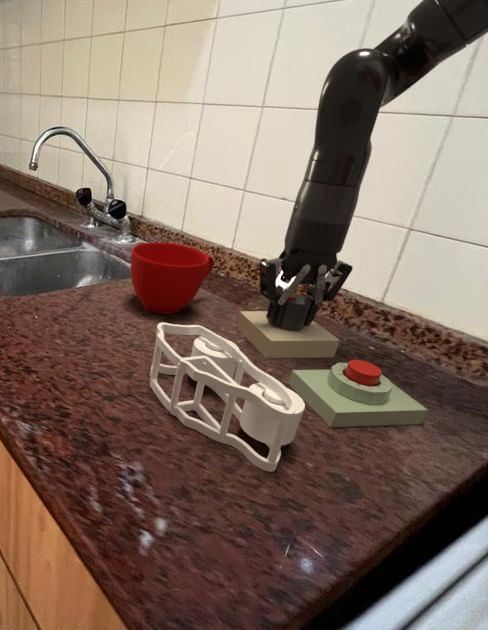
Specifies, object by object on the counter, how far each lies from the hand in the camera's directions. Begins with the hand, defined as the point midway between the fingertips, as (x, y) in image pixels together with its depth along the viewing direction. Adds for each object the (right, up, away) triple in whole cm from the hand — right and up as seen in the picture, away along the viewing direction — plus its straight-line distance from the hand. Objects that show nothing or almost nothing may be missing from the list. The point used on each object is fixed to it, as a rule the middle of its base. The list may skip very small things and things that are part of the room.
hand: (288, 323), depth 70 cm
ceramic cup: (-16, +3, +12) cm, 20 cm away
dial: (0, 0, 0) cm, 0 cm away
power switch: (+2, -10, -13) cm, 16 cm away
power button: (+2, -7, -14) cm, 16 cm away
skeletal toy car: (-17, -10, -16) cm, 26 cm away
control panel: (0, -3, +2) cm, 3 cm away
